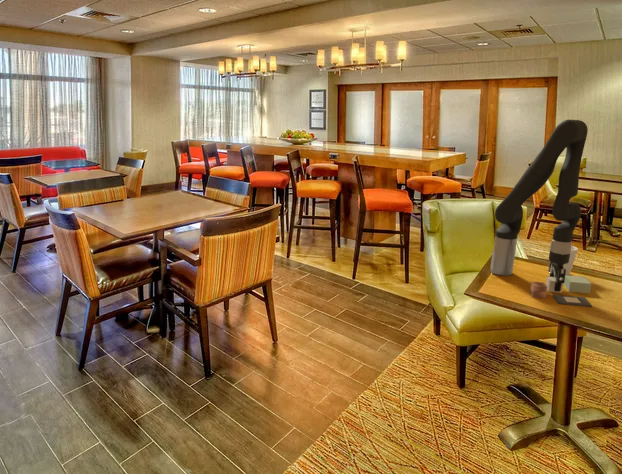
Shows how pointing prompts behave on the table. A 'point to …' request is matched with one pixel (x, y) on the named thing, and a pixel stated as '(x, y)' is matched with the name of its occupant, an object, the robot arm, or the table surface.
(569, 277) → the green block
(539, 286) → the terracotta cube
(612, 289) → the table surface
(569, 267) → the foam cup
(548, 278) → the cream cube
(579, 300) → the card
